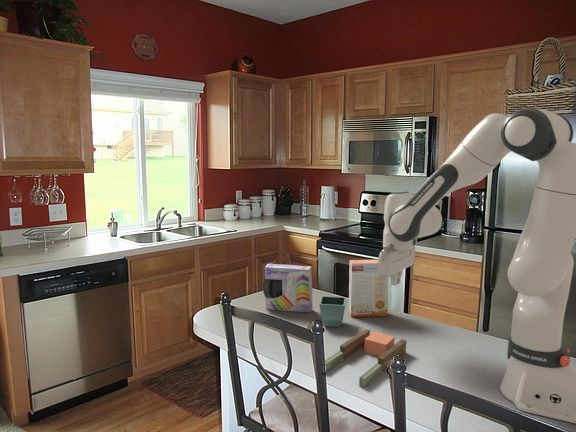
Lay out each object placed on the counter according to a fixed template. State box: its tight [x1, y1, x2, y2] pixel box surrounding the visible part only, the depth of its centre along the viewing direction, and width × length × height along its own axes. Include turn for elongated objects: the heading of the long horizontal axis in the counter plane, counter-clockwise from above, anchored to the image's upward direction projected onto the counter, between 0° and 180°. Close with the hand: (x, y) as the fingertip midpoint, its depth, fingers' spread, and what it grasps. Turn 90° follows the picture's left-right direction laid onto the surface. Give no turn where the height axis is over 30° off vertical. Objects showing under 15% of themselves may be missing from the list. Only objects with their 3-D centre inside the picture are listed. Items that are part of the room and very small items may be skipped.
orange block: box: [363, 331, 396, 357], centre depth 139 cm, size 7×7×4 cm
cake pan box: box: [262, 263, 314, 313], centre depth 174 cm, size 19×5×18 cm, turn 73°
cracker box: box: [348, 259, 390, 318], centre depth 169 cm, size 14×6×21 cm, turn 92°
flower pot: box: [319, 295, 347, 328], centre depth 160 cm, size 9×9×9 cm
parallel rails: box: [324, 328, 407, 389], centre depth 132 cm, size 14×26×4 cm, turn 142°
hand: (395, 284), depth 144 cm, fingers closed
